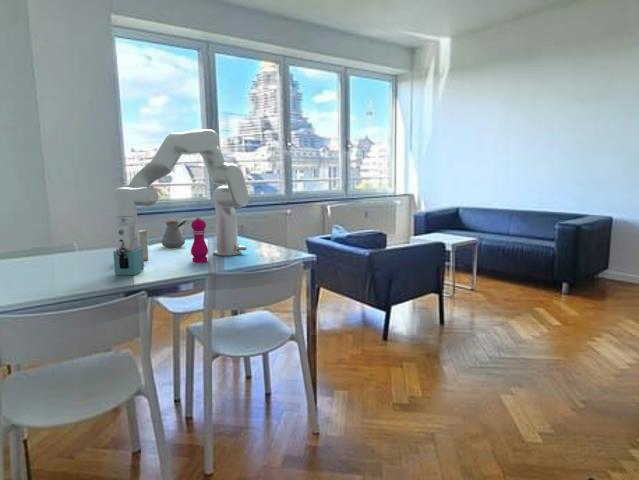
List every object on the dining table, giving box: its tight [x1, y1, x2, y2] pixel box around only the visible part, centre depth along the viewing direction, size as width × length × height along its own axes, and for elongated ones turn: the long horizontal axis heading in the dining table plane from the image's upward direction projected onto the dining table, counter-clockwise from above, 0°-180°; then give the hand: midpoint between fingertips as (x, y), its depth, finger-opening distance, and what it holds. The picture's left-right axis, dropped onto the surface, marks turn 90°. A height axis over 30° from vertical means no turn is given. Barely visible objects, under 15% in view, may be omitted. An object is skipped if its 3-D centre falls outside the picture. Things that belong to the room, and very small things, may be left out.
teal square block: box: [112, 248, 145, 276], centre depth 177 cm, size 8×8×9 cm
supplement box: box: [139, 229, 149, 262], centre depth 201 cm, size 8×5×13 cm, turn 65°
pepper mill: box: [190, 215, 209, 264], centre depth 197 cm, size 7×7×20 cm
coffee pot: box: [161, 220, 189, 249], centre depth 229 cm, size 21×12×15 cm, turn 42°
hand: (129, 265), depth 177 cm, fingers closed on teal square block, 7 cm apart
